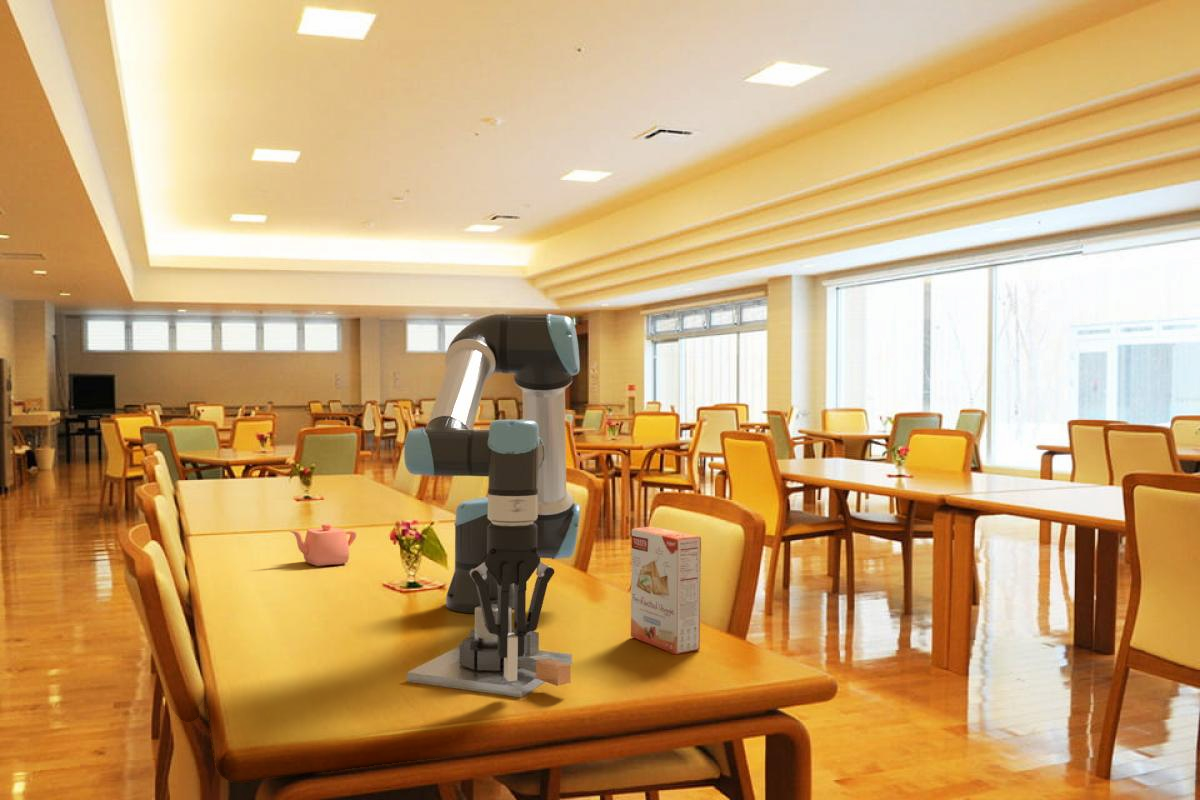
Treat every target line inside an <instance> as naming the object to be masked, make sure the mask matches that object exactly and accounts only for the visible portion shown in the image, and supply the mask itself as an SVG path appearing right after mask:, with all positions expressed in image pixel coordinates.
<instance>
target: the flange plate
mask: <svg viewBox="0 0 1200 800" xmlns="http://www.w3.org/2000/svg"><path fill="white" fill-rule="evenodd" d="M491 607H492V611H493V616H494V620H495V624H497V609H498V604H491ZM512 611H513V609H512V608H511V607H510V606H509V618H508V633H511V630H512ZM474 630H475V639H476V640H478V648H480V649H498V635H496V634H491V633H489V631H488V630H487V629H486V626H485V622H484V618H483V613H482V609H481V606H478V607H476V608H475V613H474ZM539 634H540V633H539V632H537V631H530V632H528V633H526V636H525V637H524V641H525V656H526V657H529V658H532V659H535V660H538V661H541V660H545V659H552V660H555V661H558V662H561V663H564V664H568V665H571V664H572V663H573V662H572V661H573V654H571V653H565V652H564V653H563V652H555V651H548V650H546V651H545V650H539V644H540V643H539V641H540V640H539V639H540V638H539V637H540V635H539ZM459 657H460V645H459V646H457V647H455V648H452V649H451V650H449V651H447V652H445V653H442V654H441V655H439V656H437V657H435V658H432V659H430V660H429V661H427V662H425V663H423V664H420V665H419V666H417V667H415V668H413V669H411V670H409V671H407V673H406V675H407V677H406V682H408V683H415V684H420V685H428V686H435V687H442V688H449V689H458V690H465V691H471V692H477V693H478V692H479V693H485V694H492V695H502V696H509V697H513V698H523V697H525V696H526V695H528V694H529V693H531V692H532V691H533V690H534V689H536V688H538V687H539V686H540V685H543V683H546V682H545V681H542V680H539V679H536V673H534V672H531V671H528V670H525V669H522V668H520V667H517V681H507V680H506V678H505V677H504V670H502V669H500V671H499V670H477V669H474V670H473V669H471V668H468V667H465V666H462V665H460V664H459Z"/></svg>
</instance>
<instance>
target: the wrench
mask: <svg viewBox="0 0 1200 800" xmlns="http://www.w3.org/2000/svg"><path fill="white" fill-rule="evenodd" d="M511 633H515V631H514V629H511ZM459 646H460V657H459V664H460V665H462V666H465V667H468V668H471V669H473V670H474V669H477V670H499V671H500V669H502V670H504V658H500V657H499V655H498V649H480V648H478V640H476V639H475V629H471V630H469V637H467V638H464V639H462V640H461V642H460V644H459ZM517 667H520V668H522V669H525V670H528V671H531V672H534V673H536V679H539V680H542V681H545V682H544V683H548V684H551V685H553V686H557V687H559V686H562V685H566V684H569V683H571V673H572V672H571V669H572V668H571V667H572V666H571V664H570V665H568V664H564V663H561V662H558V661H555V660H552V659H545V660H541V661H538V660H535V659H532V658H529V657H526V656H525V641H524V655H523V656H522V657H518V663H517Z"/></svg>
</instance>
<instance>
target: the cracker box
mask: <svg viewBox="0 0 1200 800" xmlns="http://www.w3.org/2000/svg"><path fill="white" fill-rule="evenodd" d="M701 558H702V537H701V536H700V535H699V536H698V535H694V534H690V533H686V532H681V531H677V530H676V531H675V530H671V529H667V528H663V527H658V526H645V527H643V526H642V527H634V528H632V529H631V569H630V570H631V571H630V572H631V574H630V575H631V577H630V578H631V579H630V580H631V581H630V583H631V585H630V587H631V588H630V589H631V590H630V637H631V638H633V639H635V638H636V640H638V641H641V642H643V643H646V644H648V645H651V646H654V647H656V648H658V649H660V650H661V649H662V650H664V651H666V652H668V653H671V654H674V655H680V654H684V653H685V654H686V653H690V652H695V651H696V652H697V651H700V648H701V576H702V573H701V571H702V570H701V568H702V566H701V565H702V560H701Z"/></svg>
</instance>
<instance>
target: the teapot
mask: <svg viewBox="0 0 1200 800" xmlns="http://www.w3.org/2000/svg"><path fill="white" fill-rule="evenodd" d="M289 532H290V533H292V534H293V535H294V536H295V538H296V544H297V548H298V550H299V551H300V552H301V553H302V554H303V559H304V561H305V562H306V563H307V564H309V565H313V566H315V567H318V566H319V567H324V566H330V565H333V566H340V565H342V564H347V563H348V562H349V559H350V546H351V545H352V544H353V542H355V540H356V538H357V534H358V533H357V531H355V530H352V529H351V530H344V529H341V528H338V527H332V524H331V523H324V524H321V527H320V528H319V527H318V528H308V529H307V531H306V535H305V538H304V539H303V536H302V534H301V533H300V532H299V531H297V530H289ZM347 535H349V538H348V536H347Z"/></svg>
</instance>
